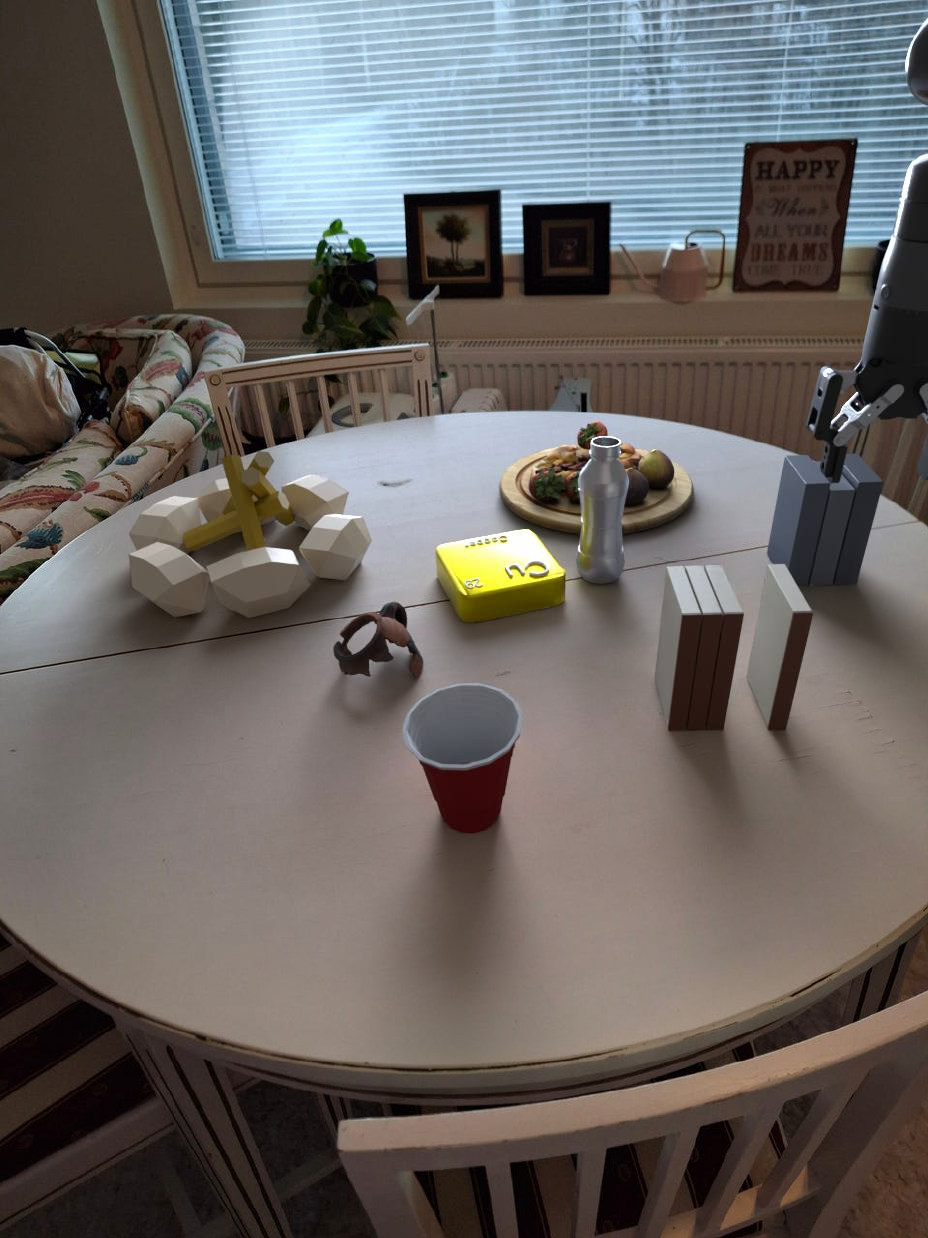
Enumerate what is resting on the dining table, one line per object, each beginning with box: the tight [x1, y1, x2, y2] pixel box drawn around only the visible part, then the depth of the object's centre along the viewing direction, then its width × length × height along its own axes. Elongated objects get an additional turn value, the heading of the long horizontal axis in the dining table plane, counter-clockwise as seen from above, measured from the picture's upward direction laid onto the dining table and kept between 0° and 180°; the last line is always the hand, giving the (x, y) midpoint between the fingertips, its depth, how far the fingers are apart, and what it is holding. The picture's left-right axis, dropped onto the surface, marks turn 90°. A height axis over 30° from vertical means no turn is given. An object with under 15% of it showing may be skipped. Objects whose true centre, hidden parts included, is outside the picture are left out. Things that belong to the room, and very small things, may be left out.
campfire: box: [128, 450, 373, 619], centre depth 116 cm, size 35×34×17 cm
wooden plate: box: [498, 421, 695, 535], centre depth 132 cm, size 32×32×8 cm
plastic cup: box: [401, 682, 524, 835], centre depth 74 cm, size 11×11×12 cm
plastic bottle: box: [575, 436, 629, 584], centre depth 107 cm, size 6×7×20 cm
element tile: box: [434, 529, 567, 624], centre depth 110 cm, size 15×15×5 cm
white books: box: [654, 564, 745, 732], centre depth 85 cm, size 6×9×15 cm, turn 178°
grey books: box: [766, 452, 884, 587], centre depth 107 cm, size 9×9×15 cm
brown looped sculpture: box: [332, 601, 424, 679], centre depth 97 cm, size 12×10×8 cm
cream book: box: [746, 563, 815, 731], centre depth 85 cm, size 2×9×15 cm, turn 178°
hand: (877, 478), depth 75 cm, fingers open, 8 cm apart
